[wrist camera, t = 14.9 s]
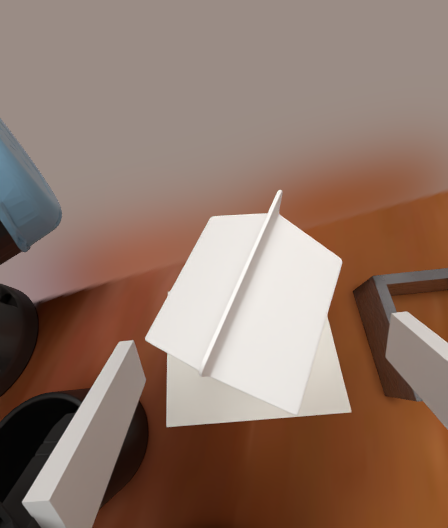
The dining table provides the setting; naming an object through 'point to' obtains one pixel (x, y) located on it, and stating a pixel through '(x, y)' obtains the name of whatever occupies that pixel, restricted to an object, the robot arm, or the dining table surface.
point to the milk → (251, 306)
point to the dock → (379, 314)
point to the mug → (40, 424)
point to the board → (244, 405)
